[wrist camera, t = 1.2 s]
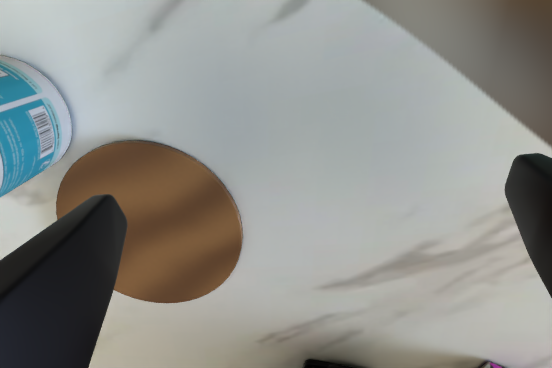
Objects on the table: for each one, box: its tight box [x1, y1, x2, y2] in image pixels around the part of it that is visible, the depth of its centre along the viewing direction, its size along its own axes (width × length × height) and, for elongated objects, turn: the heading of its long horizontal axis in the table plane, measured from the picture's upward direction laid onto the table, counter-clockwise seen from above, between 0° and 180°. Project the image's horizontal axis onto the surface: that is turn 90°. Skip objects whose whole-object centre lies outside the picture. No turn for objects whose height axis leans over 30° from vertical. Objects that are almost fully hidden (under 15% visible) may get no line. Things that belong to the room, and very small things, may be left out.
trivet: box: [56, 141, 243, 303], centre depth 26 cm, size 14×14×1 cm
